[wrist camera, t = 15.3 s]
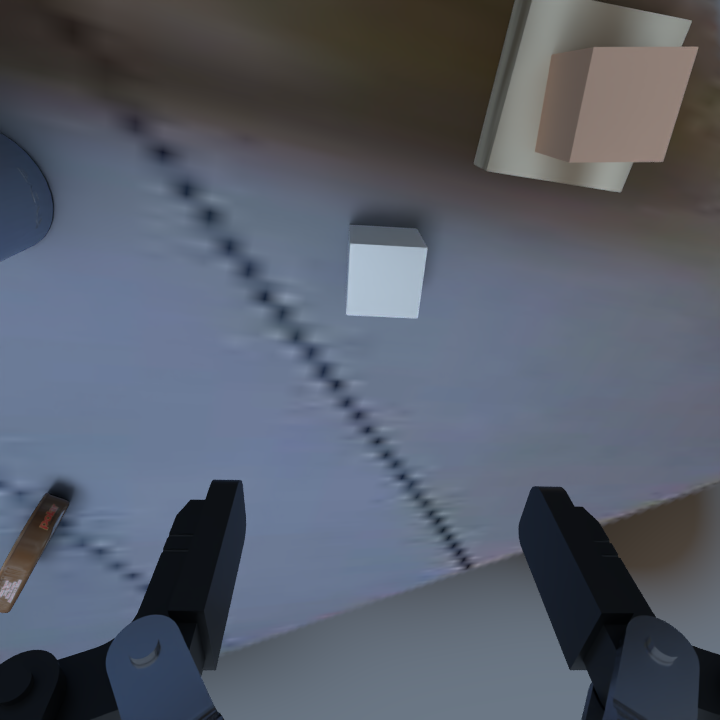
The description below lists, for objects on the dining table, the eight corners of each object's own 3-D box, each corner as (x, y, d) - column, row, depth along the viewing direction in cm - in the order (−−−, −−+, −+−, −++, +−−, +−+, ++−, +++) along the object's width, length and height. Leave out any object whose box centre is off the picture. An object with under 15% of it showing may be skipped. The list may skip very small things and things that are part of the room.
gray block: (472, 163, 35) (486, 171, 31) (512, 0, 30) (535, -12, 26) (594, 182, 36) (620, 192, 32) (653, 28, 31) (692, 20, 27)
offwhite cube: (345, 288, 39) (346, 315, 35) (349, 224, 37) (350, 243, 32) (408, 291, 40) (417, 318, 35) (416, 228, 37) (427, 247, 32)
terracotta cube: (534, 151, 31) (569, 162, 26) (551, 54, 28) (593, 46, 23) (614, 151, 31) (663, 161, 26) (639, 54, 28) (698, 46, 23)
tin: (55, 477, 49) (5, 543, 42) (84, 488, 50) (40, 555, 43) (16, 552, 55) (-34, 622, 48) (43, 561, 56) (-2, 631, 49)
